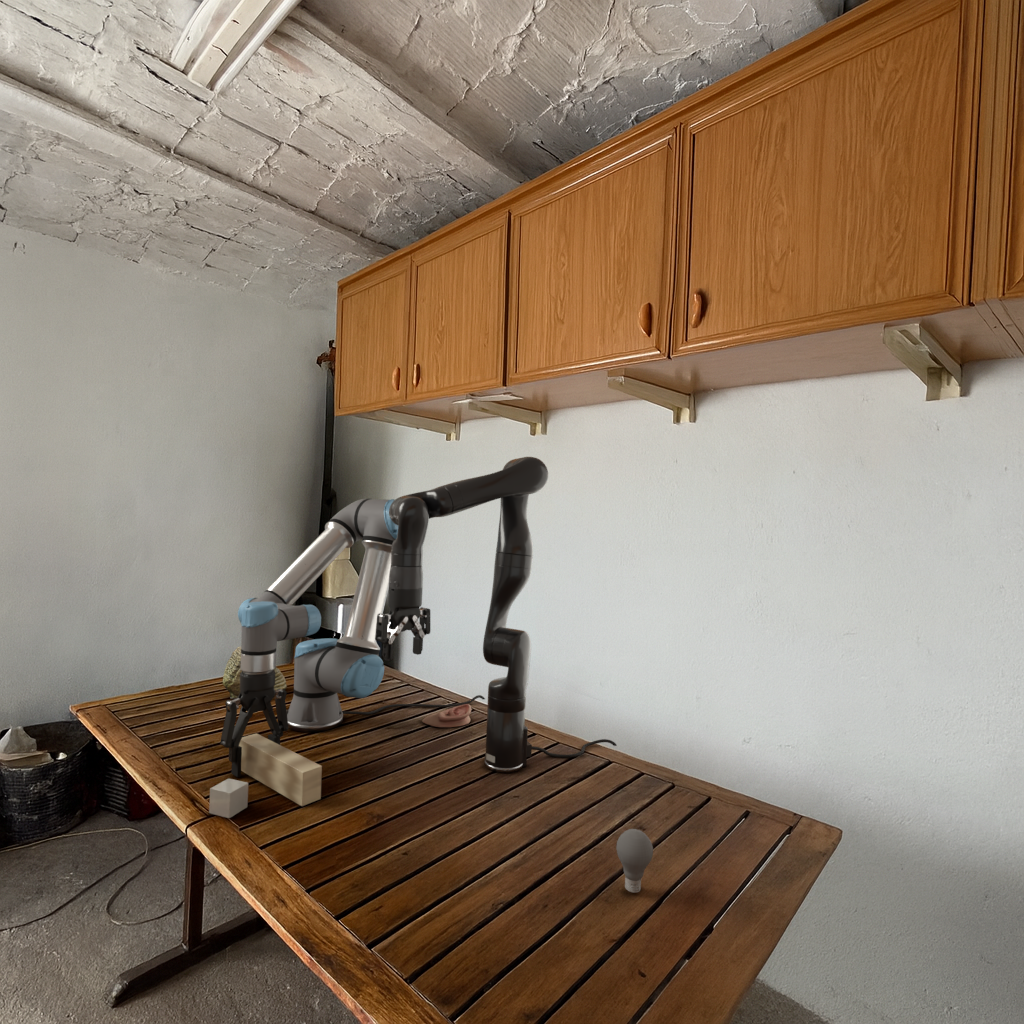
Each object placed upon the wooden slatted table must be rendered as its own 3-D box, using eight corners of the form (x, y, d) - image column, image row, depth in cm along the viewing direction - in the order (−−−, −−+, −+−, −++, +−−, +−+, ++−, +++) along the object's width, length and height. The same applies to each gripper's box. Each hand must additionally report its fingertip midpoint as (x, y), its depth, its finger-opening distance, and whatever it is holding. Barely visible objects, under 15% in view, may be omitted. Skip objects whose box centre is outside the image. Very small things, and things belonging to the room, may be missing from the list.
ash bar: (237, 768, 146) (238, 738, 145) (255, 762, 149) (256, 733, 149) (301, 806, 129) (303, 772, 129) (320, 799, 133) (322, 765, 133)
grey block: (227, 802, 130) (228, 778, 130) (247, 807, 128) (248, 782, 128) (208, 813, 125) (209, 788, 125) (229, 818, 123) (230, 793, 123)
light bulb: (610, 879, 108) (613, 822, 108) (644, 879, 109) (647, 822, 109) (619, 902, 102) (622, 840, 102) (655, 901, 103) (658, 840, 103)
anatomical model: (418, 710, 178) (431, 698, 189) (418, 724, 178) (431, 711, 189) (464, 716, 175) (474, 703, 186) (463, 730, 175) (474, 716, 186)
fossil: (218, 695, 195) (220, 647, 195) (278, 685, 208) (279, 640, 207) (228, 703, 189) (230, 653, 188) (289, 692, 201) (290, 645, 201)
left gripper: (289, 659, 155) (286, 751, 156) (204, 675, 139) (200, 778, 139) (307, 665, 150) (303, 760, 151) (221, 682, 134) (217, 789, 135)
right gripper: (417, 581, 150) (414, 649, 150) (369, 585, 139) (366, 659, 139) (440, 584, 145) (437, 655, 145) (392, 589, 134) (389, 666, 134)
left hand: (254, 768), depth 145 cm, fingers open, 8 cm apart
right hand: (402, 657), depth 142 cm, fingers open, 8 cm apart
